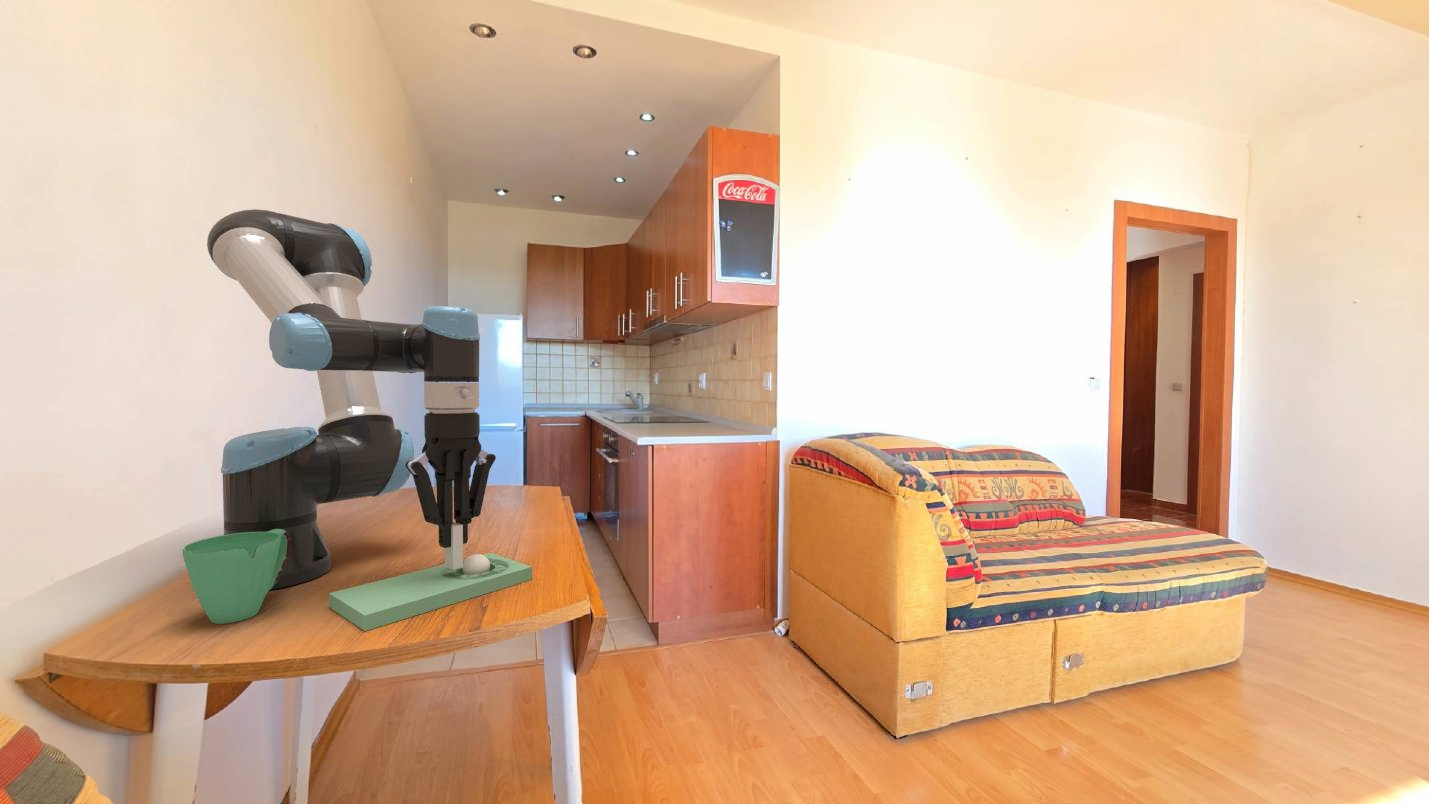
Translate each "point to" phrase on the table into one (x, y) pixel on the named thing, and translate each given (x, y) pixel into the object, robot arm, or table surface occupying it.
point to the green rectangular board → (422, 592)
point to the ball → (476, 565)
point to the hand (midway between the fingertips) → (453, 566)
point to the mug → (236, 572)
